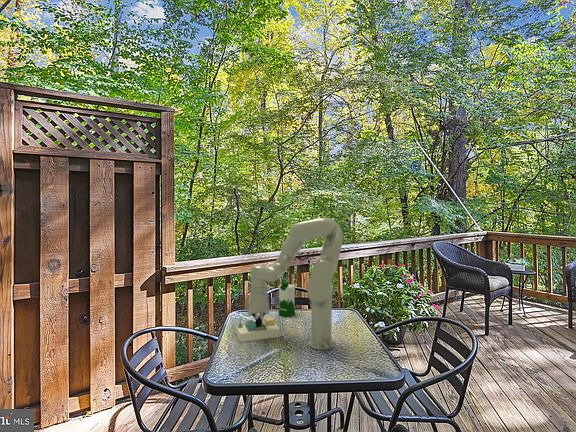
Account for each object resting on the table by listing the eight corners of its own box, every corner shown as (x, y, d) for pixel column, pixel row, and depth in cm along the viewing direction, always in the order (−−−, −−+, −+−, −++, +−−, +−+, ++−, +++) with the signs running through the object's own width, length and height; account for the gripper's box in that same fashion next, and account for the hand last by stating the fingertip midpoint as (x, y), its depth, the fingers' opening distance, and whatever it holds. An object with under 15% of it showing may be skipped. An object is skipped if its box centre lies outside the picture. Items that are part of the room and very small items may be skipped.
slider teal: (255, 330, 161) (255, 323, 161) (249, 331, 160) (249, 323, 160) (254, 328, 164) (254, 321, 164) (248, 329, 163) (248, 322, 163)
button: (274, 329, 169) (274, 320, 169) (266, 330, 167) (266, 321, 167) (272, 326, 173) (272, 317, 173) (264, 327, 171) (264, 318, 171)
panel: (279, 336, 163) (279, 317, 163) (240, 342, 157) (239, 321, 156) (273, 328, 174) (273, 310, 174) (235, 333, 168) (235, 314, 168)
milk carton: (276, 315, 195) (276, 282, 195) (285, 311, 203) (284, 279, 203) (289, 318, 191) (289, 284, 190) (297, 314, 198) (297, 281, 198)
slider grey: (253, 326, 166) (253, 320, 166) (247, 327, 165) (247, 320, 165) (252, 325, 169) (252, 318, 168) (246, 325, 168) (246, 318, 168)
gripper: (270, 286, 169) (271, 322, 169) (242, 289, 164) (242, 325, 164) (275, 290, 161) (275, 327, 162) (245, 292, 157) (245, 330, 157)
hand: (258, 326), depth 163 cm, fingers closed
